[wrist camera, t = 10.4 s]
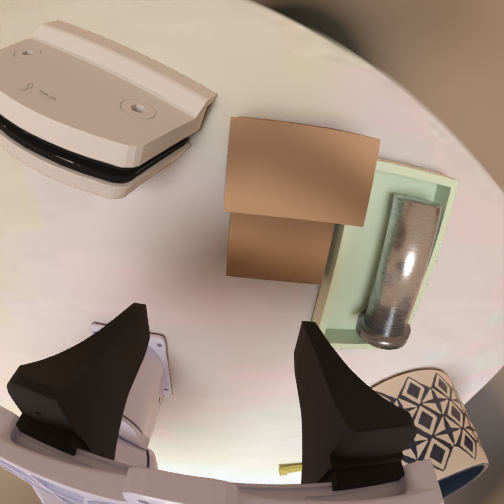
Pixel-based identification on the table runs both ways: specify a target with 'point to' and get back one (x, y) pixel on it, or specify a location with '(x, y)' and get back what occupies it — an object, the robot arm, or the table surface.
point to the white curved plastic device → (94, 110)
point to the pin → (400, 271)
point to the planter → (437, 427)
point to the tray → (374, 250)
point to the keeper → (292, 195)
